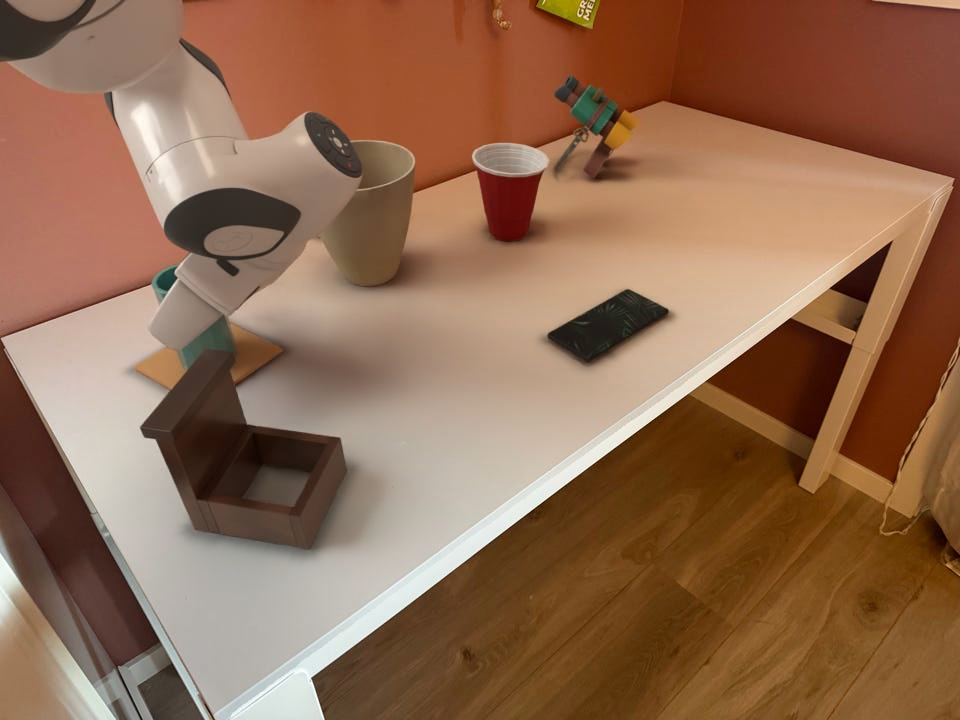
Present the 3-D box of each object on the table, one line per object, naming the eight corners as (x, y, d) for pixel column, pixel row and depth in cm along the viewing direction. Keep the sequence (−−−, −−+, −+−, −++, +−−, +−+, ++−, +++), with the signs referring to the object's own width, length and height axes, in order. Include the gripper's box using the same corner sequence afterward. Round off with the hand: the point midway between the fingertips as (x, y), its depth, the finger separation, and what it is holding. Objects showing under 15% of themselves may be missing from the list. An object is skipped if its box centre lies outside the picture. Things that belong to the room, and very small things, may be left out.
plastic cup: (548, 250, 102) (552, 170, 95) (473, 251, 103) (470, 172, 95) (544, 214, 111) (547, 139, 103) (474, 215, 111) (472, 140, 104)
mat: (201, 408, 78) (199, 405, 78) (135, 370, 83) (133, 366, 83) (283, 351, 86) (282, 348, 85) (217, 319, 91) (216, 316, 91)
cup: (205, 381, 81) (176, 300, 74) (169, 361, 84) (139, 282, 77) (249, 351, 85) (225, 272, 78) (213, 334, 88) (188, 256, 81)
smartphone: (670, 309, 89) (588, 359, 81) (669, 316, 89) (588, 366, 82) (627, 287, 93) (545, 333, 85) (626, 293, 93) (545, 339, 86)
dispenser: (348, 466, 71) (327, 363, 62) (307, 553, 63) (276, 447, 55) (239, 450, 73) (205, 348, 65) (185, 532, 65) (138, 427, 57)
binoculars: (579, 204, 120) (633, 135, 110) (512, 154, 119) (560, 80, 109) (599, 171, 130) (650, 104, 120) (537, 124, 129) (584, 54, 119)
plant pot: (293, 280, 98) (268, 170, 88) (369, 235, 107) (355, 131, 97) (372, 316, 91) (355, 201, 81) (446, 265, 100) (439, 156, 90)
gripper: (269, 176, 79) (212, 246, 87) (169, 273, 64) (110, 348, 72) (314, 216, 81) (254, 281, 89) (227, 319, 66) (164, 387, 74)
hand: (189, 311), depth 80 cm, fingers closed on cup, 6 cm apart
